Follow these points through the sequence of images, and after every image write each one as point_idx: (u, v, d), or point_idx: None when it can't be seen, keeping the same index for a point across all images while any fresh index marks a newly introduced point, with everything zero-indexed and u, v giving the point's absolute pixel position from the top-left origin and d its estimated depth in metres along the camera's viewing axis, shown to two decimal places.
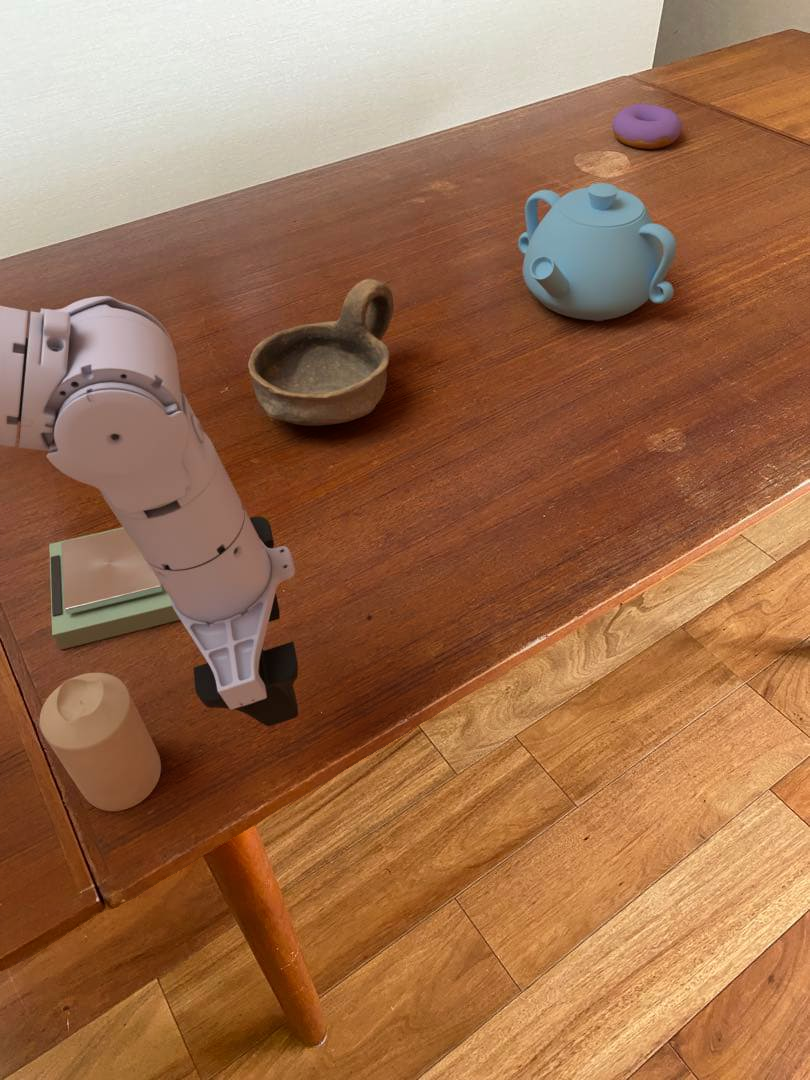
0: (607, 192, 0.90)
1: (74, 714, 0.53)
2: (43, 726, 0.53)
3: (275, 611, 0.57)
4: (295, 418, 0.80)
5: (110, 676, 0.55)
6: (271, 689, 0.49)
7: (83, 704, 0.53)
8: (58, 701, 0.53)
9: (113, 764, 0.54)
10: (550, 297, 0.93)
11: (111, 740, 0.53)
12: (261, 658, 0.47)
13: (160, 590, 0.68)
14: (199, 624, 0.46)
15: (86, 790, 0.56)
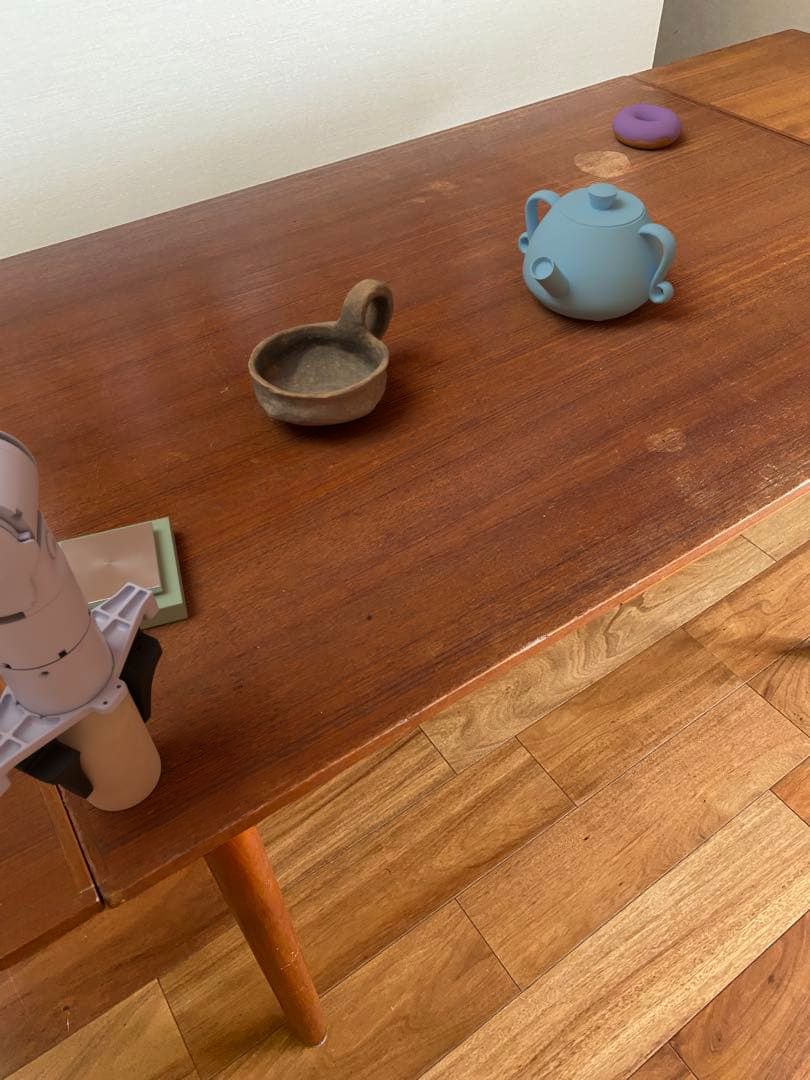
0: (607, 192, 0.90)
1: None
2: None
3: (142, 716, 0.58)
4: (295, 418, 0.80)
5: None
6: None
7: None
8: None
9: (113, 764, 0.54)
10: (550, 297, 0.93)
11: (111, 739, 0.53)
12: (45, 748, 0.50)
13: (160, 590, 0.68)
14: (13, 698, 0.50)
15: None
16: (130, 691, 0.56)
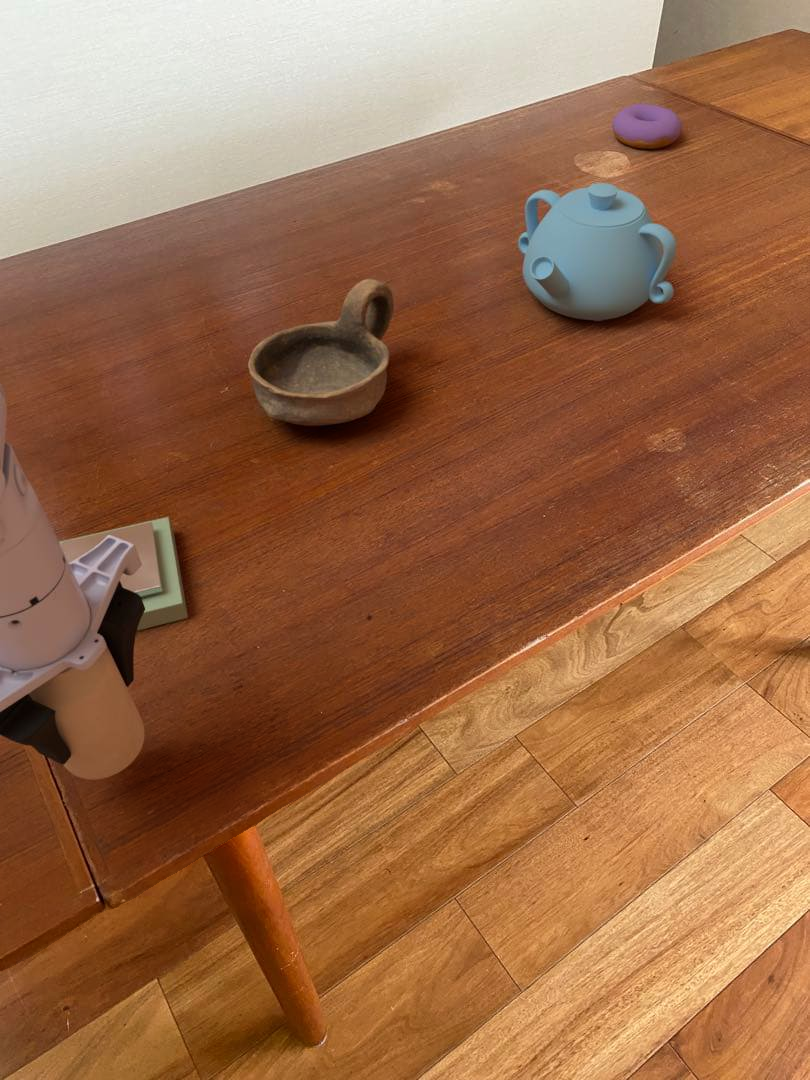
0: (607, 192, 0.90)
1: None
2: None
3: (124, 679, 0.55)
4: (295, 418, 0.80)
5: None
6: None
7: None
8: None
9: (92, 727, 0.51)
10: (550, 297, 0.93)
11: (90, 700, 0.50)
12: (17, 706, 0.47)
13: (160, 590, 0.68)
14: None
15: None
16: (111, 651, 0.53)
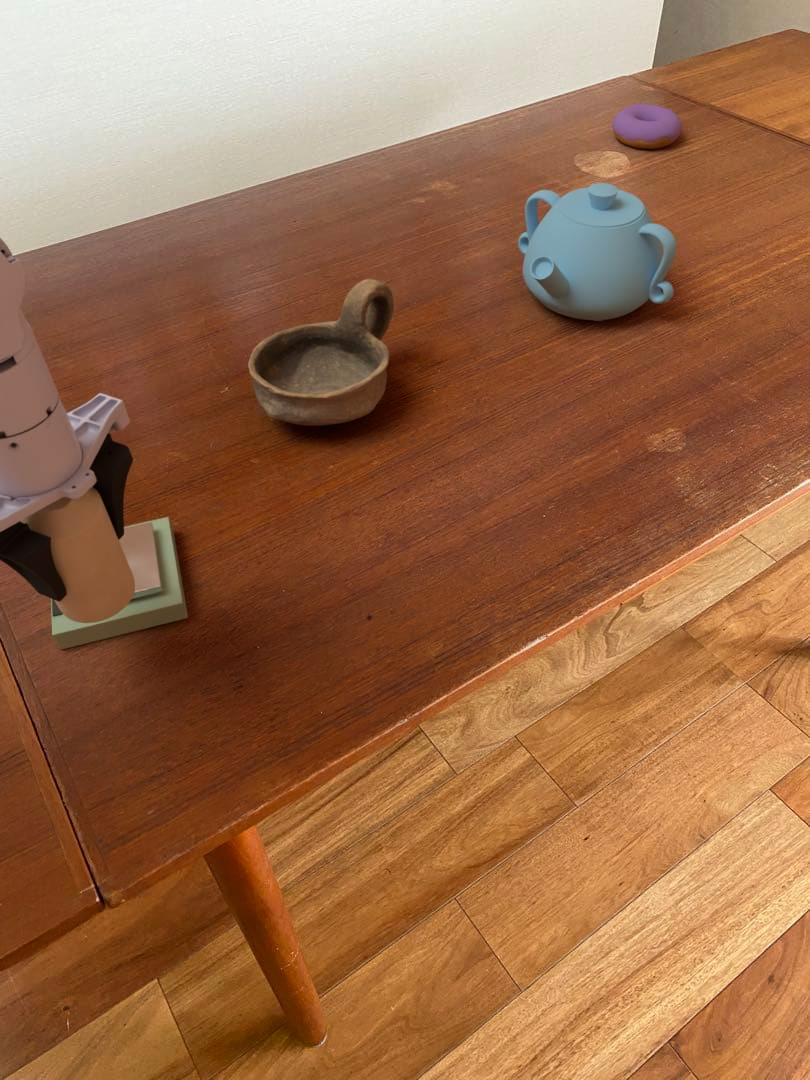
0: (607, 192, 0.90)
1: (47, 511, 0.55)
2: None
3: (115, 531, 0.60)
4: (295, 418, 0.80)
5: None
6: None
7: (56, 503, 0.55)
8: None
9: (86, 565, 0.56)
10: (550, 297, 0.93)
11: (83, 536, 0.55)
12: (17, 532, 0.52)
13: (160, 590, 0.68)
14: None
15: None
16: None
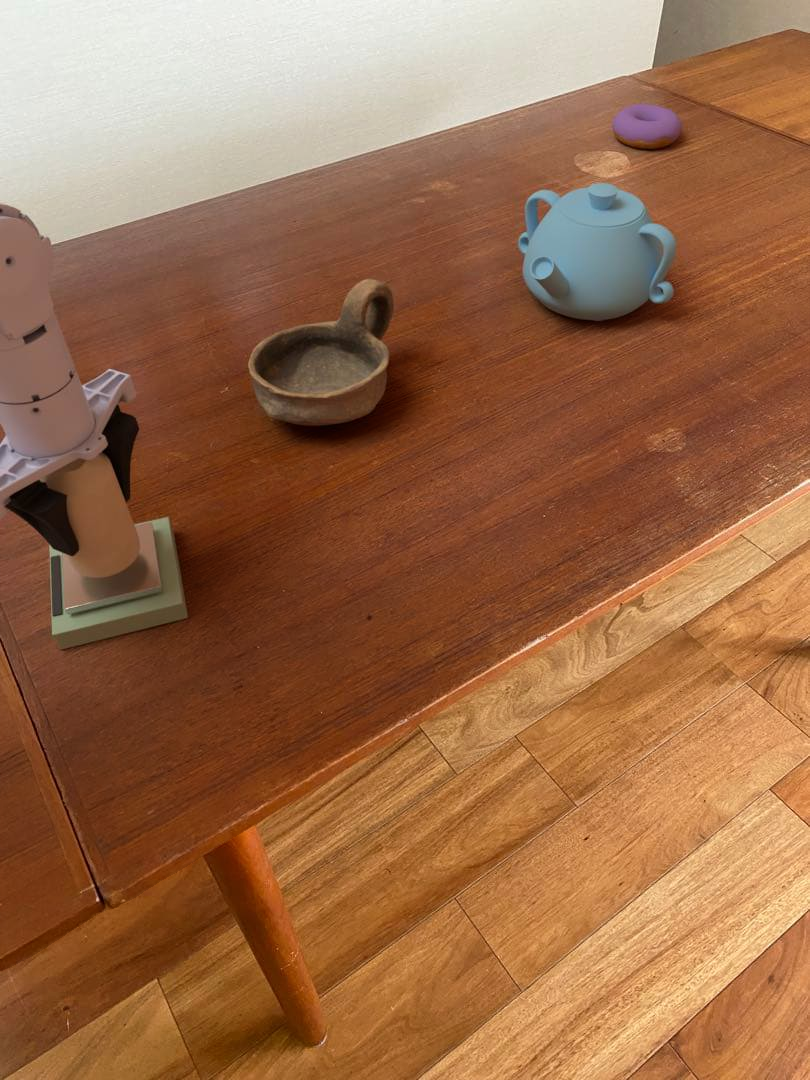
0: (607, 192, 0.90)
1: (62, 473, 0.61)
2: None
3: None
4: (295, 418, 0.80)
5: None
6: None
7: (70, 467, 0.62)
8: None
9: (97, 523, 0.63)
10: (550, 297, 0.93)
11: (95, 495, 0.61)
12: (36, 490, 0.58)
13: (160, 590, 0.68)
14: (9, 447, 0.58)
15: None
16: None
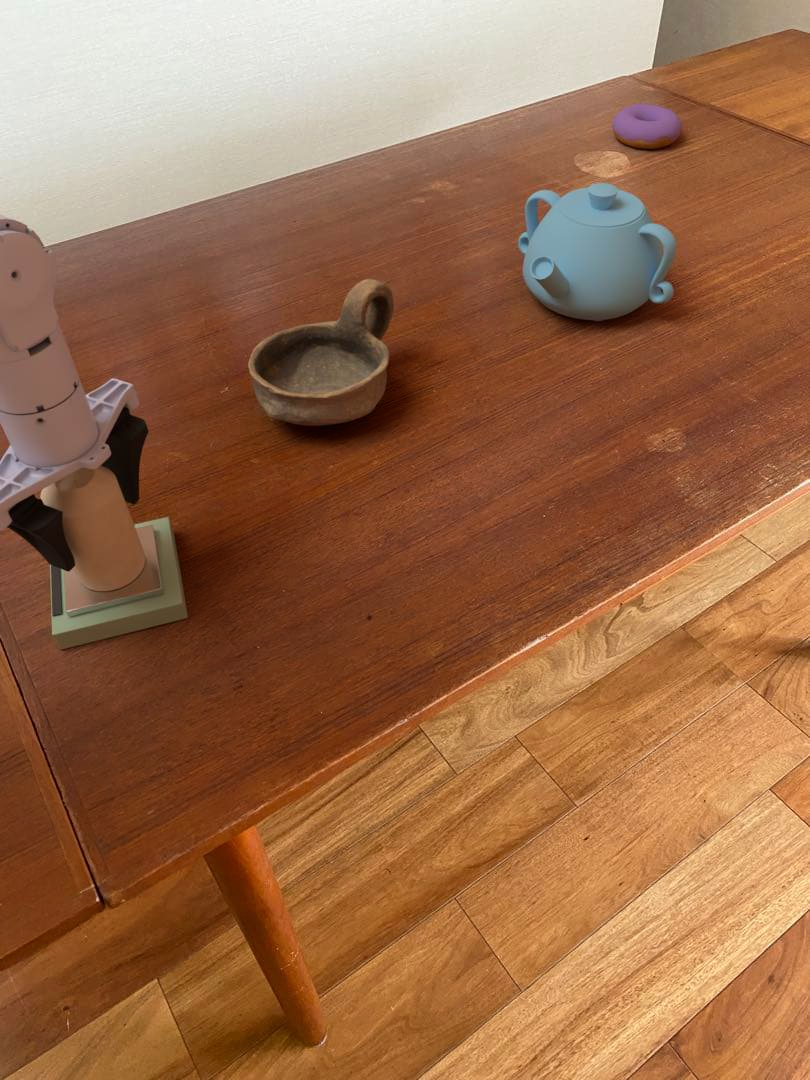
0: (607, 192, 0.90)
1: (69, 490, 0.62)
2: (43, 500, 0.62)
3: (131, 497, 0.68)
4: (295, 418, 0.80)
5: (100, 466, 0.65)
6: None
7: (77, 483, 0.63)
8: None
9: (103, 538, 0.64)
10: (550, 297, 0.93)
11: (101, 512, 0.62)
12: (32, 506, 0.58)
13: (161, 592, 0.68)
14: None
15: (80, 566, 0.66)
16: (121, 469, 0.66)
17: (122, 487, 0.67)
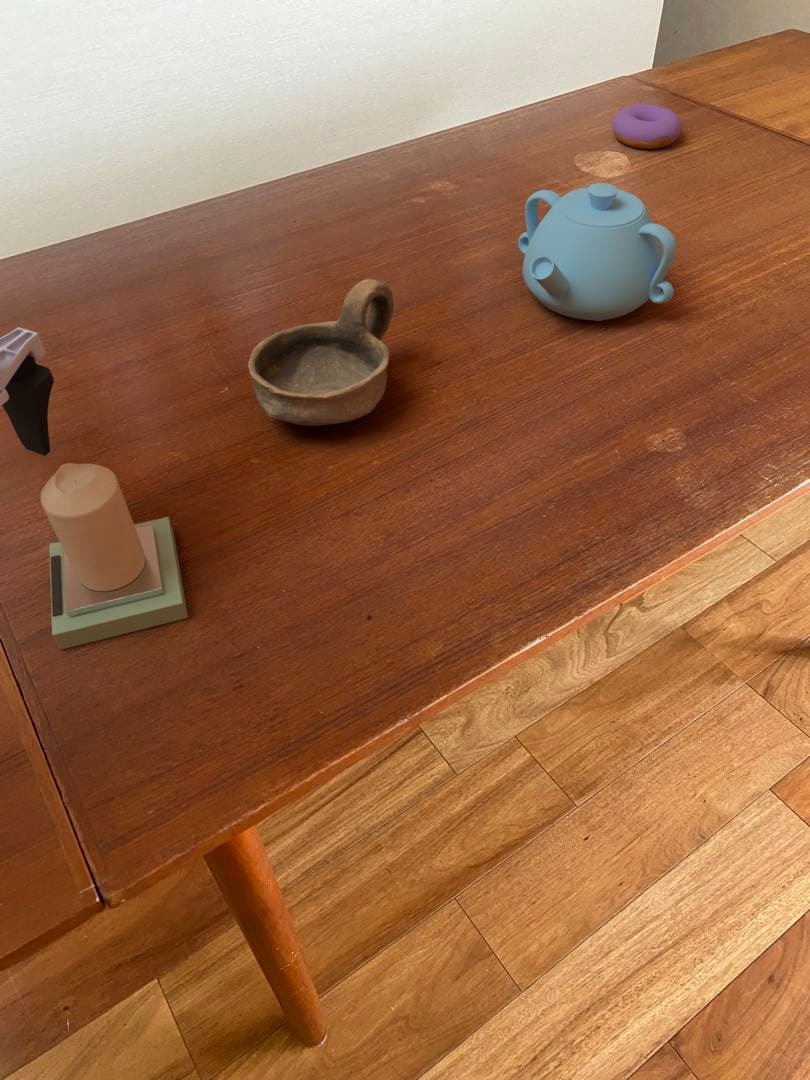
0: (607, 192, 0.90)
1: (69, 490, 0.62)
2: (43, 500, 0.62)
3: (41, 447, 0.68)
4: (295, 418, 0.80)
5: (100, 466, 0.65)
6: None
7: (77, 483, 0.63)
8: (56, 479, 0.63)
9: (103, 538, 0.64)
10: (550, 297, 0.93)
11: (101, 512, 0.62)
12: None
13: (161, 592, 0.68)
14: None
15: (80, 566, 0.66)
16: (28, 419, 0.67)
17: (32, 438, 0.68)
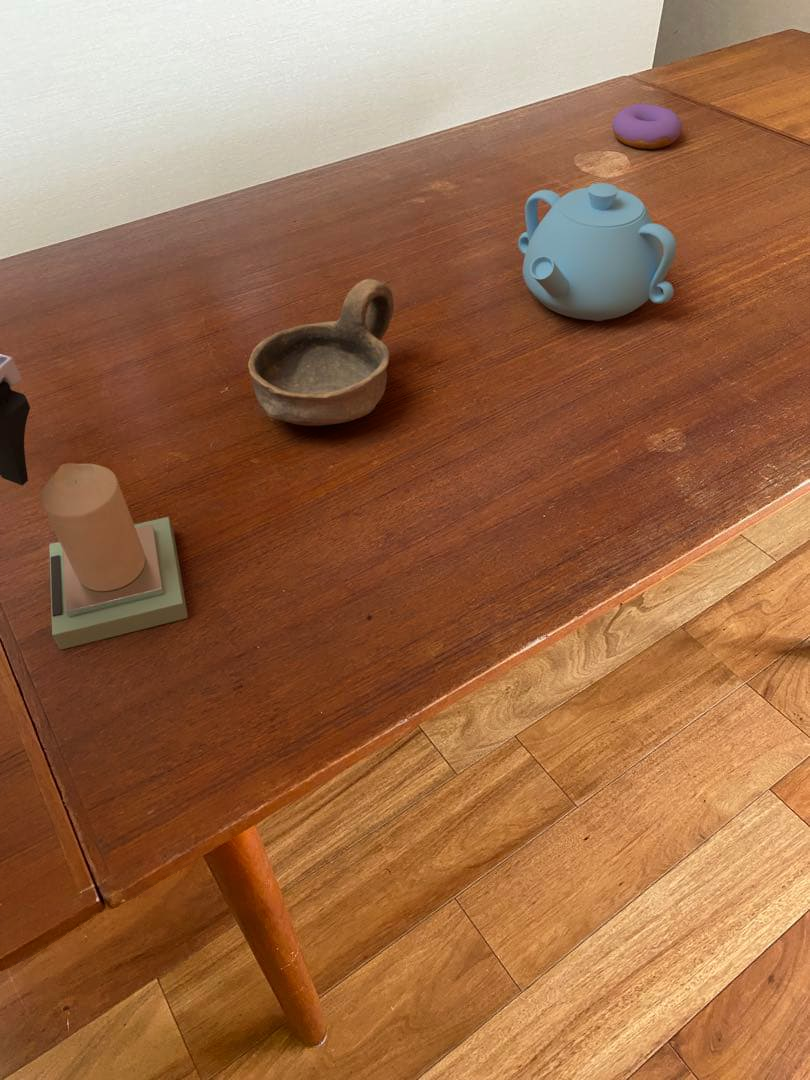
0: (607, 192, 0.90)
1: (69, 490, 0.62)
2: (43, 500, 0.62)
3: (18, 477, 0.64)
4: (295, 418, 0.80)
5: (100, 466, 0.65)
6: None
7: (77, 483, 0.63)
8: (56, 479, 0.63)
9: (103, 538, 0.64)
10: (550, 297, 0.93)
11: (101, 512, 0.62)
12: None
13: (161, 592, 0.68)
14: None
15: (80, 566, 0.66)
16: (4, 448, 0.63)
17: (8, 467, 0.64)
